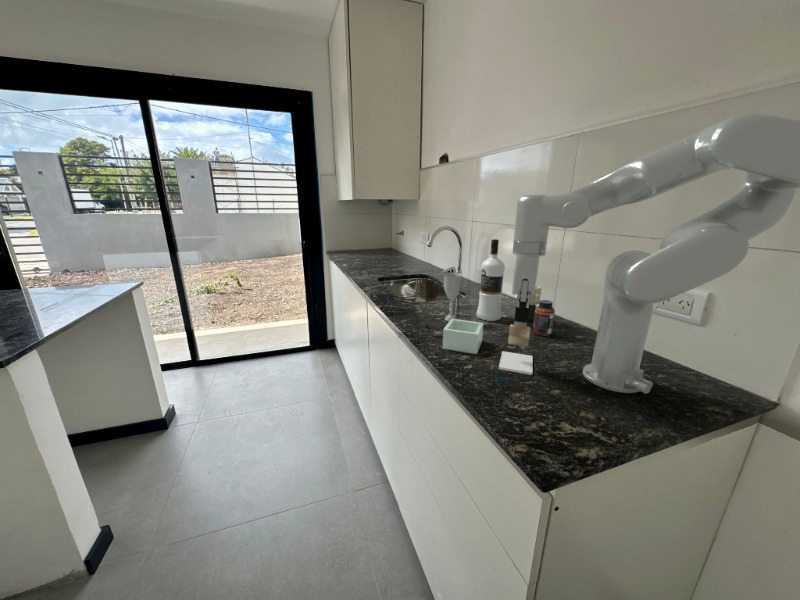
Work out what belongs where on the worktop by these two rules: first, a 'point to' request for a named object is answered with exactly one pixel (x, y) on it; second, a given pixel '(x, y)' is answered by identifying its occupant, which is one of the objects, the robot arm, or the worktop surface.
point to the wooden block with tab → (519, 332)
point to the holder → (463, 336)
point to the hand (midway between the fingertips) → (521, 318)
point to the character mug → (534, 302)
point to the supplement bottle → (544, 318)
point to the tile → (516, 363)
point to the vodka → (491, 286)
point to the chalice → (452, 290)
